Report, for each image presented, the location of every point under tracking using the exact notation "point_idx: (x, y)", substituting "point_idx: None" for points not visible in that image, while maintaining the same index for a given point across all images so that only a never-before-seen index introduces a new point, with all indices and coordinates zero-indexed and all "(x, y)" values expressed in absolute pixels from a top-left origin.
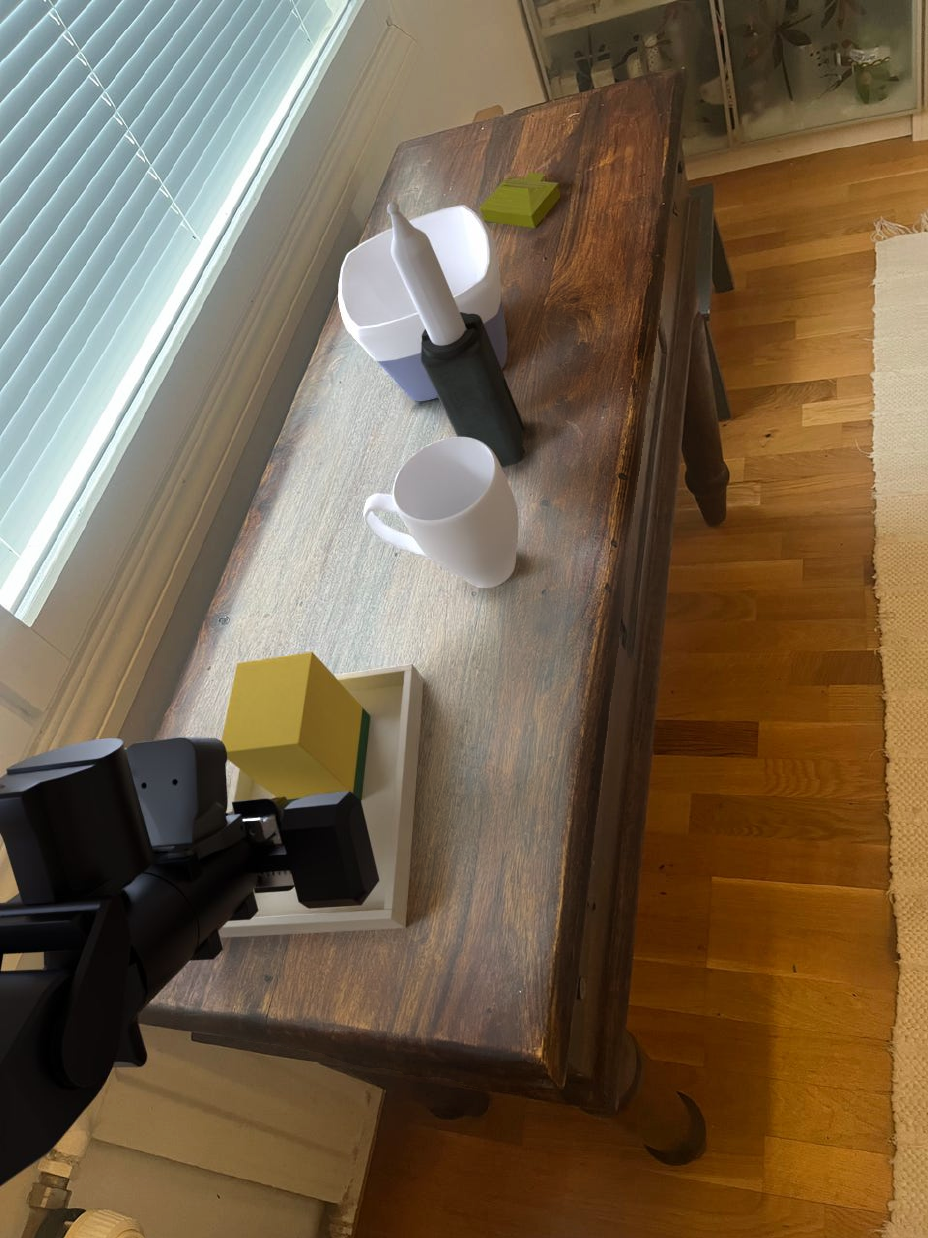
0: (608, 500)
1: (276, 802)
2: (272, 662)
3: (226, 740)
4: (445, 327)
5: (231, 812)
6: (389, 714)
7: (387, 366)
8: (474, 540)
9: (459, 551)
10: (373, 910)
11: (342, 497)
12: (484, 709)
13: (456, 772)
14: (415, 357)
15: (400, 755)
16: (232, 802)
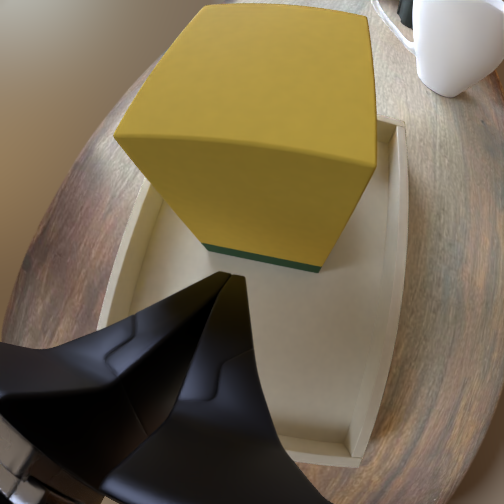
0: (500, 89)
1: (243, 314)
2: (280, 7)
3: (139, 108)
4: None
5: (110, 335)
6: None
7: None
8: (498, 46)
9: (482, 45)
10: (336, 456)
11: (295, 4)
12: (458, 203)
13: (434, 269)
14: None
15: (402, 233)
16: (103, 492)
